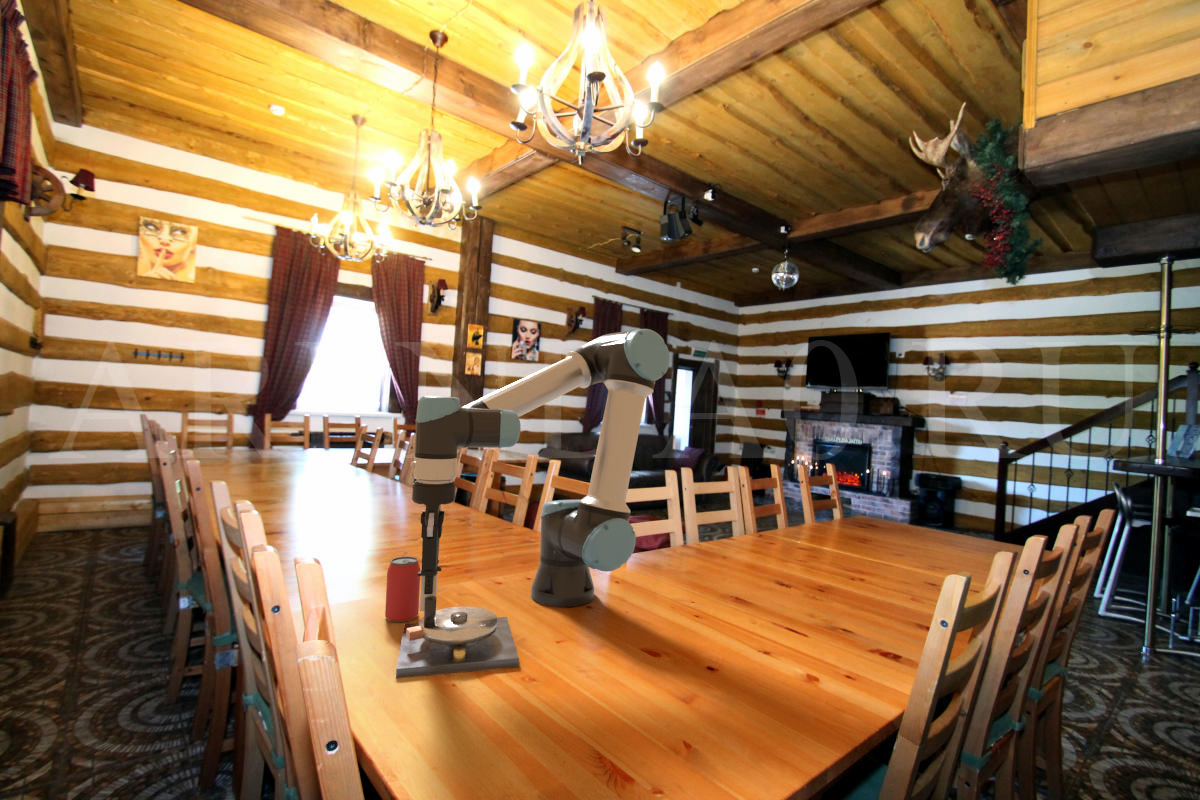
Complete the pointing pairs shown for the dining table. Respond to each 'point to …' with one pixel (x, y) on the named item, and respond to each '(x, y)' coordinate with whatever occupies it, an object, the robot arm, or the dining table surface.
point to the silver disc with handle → (453, 624)
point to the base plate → (443, 654)
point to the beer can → (402, 589)
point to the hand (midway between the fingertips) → (427, 609)
